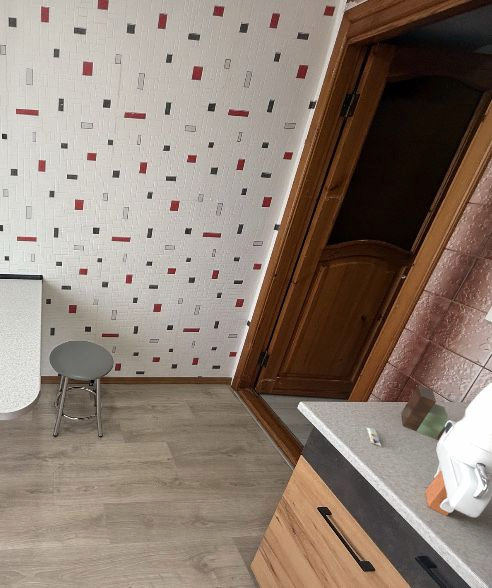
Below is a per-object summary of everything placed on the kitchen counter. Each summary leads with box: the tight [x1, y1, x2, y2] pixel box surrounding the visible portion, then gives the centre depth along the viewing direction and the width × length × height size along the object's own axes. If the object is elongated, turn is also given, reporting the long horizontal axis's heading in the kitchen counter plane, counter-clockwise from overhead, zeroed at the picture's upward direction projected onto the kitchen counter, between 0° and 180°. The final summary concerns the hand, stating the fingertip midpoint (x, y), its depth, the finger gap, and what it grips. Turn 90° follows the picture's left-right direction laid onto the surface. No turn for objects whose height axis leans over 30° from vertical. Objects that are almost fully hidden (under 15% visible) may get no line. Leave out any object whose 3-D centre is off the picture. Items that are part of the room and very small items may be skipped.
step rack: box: [400, 384, 449, 441], centre depth 94 cm, size 10×7×11 cm
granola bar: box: [365, 426, 382, 447], centre depth 91 cm, size 7×2×1 cm, turn 150°
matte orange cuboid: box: [424, 471, 450, 517], centre depth 73 cm, size 3×5×7 cm, turn 140°
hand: (441, 494), depth 73 cm, fingers open, 7 cm apart
